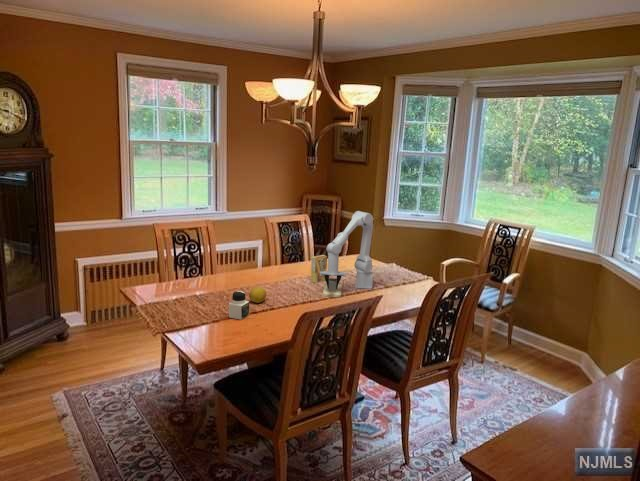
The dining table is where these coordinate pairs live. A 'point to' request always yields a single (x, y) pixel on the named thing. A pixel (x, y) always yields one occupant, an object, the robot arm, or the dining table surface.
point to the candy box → (318, 268)
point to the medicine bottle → (238, 306)
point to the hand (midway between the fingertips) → (332, 288)
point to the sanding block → (332, 285)
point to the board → (328, 294)
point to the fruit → (257, 294)
